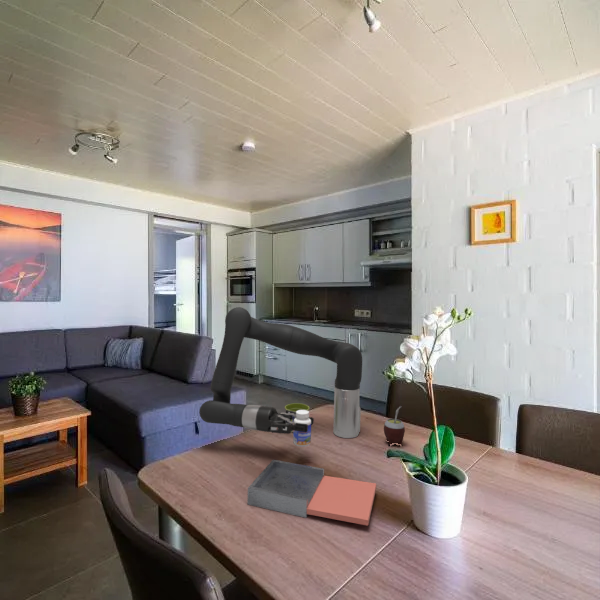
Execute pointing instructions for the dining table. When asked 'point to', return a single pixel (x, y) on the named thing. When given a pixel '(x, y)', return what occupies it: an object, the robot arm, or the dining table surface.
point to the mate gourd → (394, 430)
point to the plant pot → (296, 407)
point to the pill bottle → (302, 437)
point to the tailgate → (343, 500)
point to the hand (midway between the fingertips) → (310, 424)
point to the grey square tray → (285, 487)
